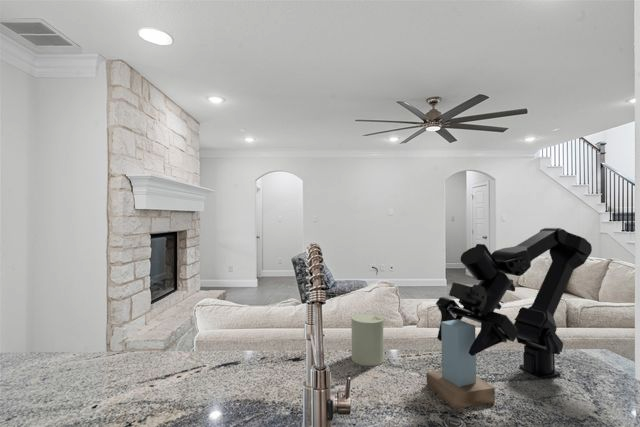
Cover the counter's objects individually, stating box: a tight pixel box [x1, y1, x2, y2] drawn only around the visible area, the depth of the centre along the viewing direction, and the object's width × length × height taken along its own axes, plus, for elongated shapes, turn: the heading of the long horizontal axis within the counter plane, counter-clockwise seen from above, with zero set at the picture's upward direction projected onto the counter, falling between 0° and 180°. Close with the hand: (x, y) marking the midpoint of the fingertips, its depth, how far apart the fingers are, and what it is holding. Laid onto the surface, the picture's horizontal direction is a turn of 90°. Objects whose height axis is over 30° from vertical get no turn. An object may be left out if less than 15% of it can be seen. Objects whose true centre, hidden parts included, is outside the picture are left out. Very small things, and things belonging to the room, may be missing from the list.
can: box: [350, 312, 385, 367], centre depth 90 cm, size 9×9×12 cm
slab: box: [426, 369, 496, 409], centre depth 72 cm, size 10×10×3 cm
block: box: [440, 319, 477, 387], centre depth 72 cm, size 5×5×12 cm
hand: (453, 346), depth 72 cm, fingers open, 9 cm apart
